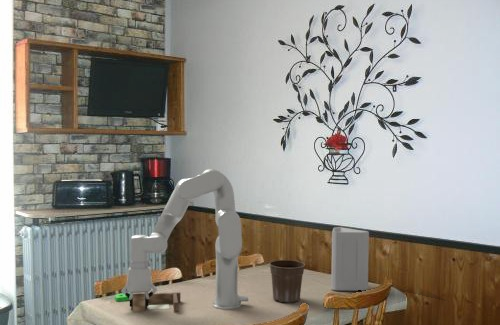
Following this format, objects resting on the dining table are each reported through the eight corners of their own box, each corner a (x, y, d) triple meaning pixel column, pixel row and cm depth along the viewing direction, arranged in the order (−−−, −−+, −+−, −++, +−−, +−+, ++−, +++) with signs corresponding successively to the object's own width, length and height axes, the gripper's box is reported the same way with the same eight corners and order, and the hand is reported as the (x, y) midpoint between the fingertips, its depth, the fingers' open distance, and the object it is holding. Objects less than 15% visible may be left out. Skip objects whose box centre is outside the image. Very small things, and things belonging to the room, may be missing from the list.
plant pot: (308, 303, 239) (309, 267, 238) (272, 304, 236) (273, 267, 236) (299, 293, 255) (300, 259, 254) (265, 294, 252) (266, 260, 252)
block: (145, 305, 233) (145, 291, 232) (145, 311, 225) (145, 297, 225) (133, 306, 232) (133, 292, 232) (132, 311, 224) (132, 297, 224)
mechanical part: (140, 296, 248) (140, 278, 248) (143, 299, 243) (143, 281, 243) (113, 298, 243) (113, 281, 243) (116, 302, 238) (116, 284, 238)
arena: (180, 301, 240) (180, 292, 240) (182, 312, 224) (182, 302, 224) (144, 302, 237) (144, 293, 237) (143, 313, 222) (143, 303, 222)
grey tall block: (318, 285, 270) (319, 229, 269) (338, 281, 280) (339, 226, 279) (348, 294, 255) (349, 234, 255) (368, 289, 265) (369, 231, 264)
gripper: (159, 262, 233) (159, 304, 233) (119, 263, 230) (118, 306, 230) (160, 266, 226) (159, 309, 226) (117, 267, 223) (117, 311, 223)
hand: (139, 307), depth 228 cm, fingers closed on block, 5 cm apart
